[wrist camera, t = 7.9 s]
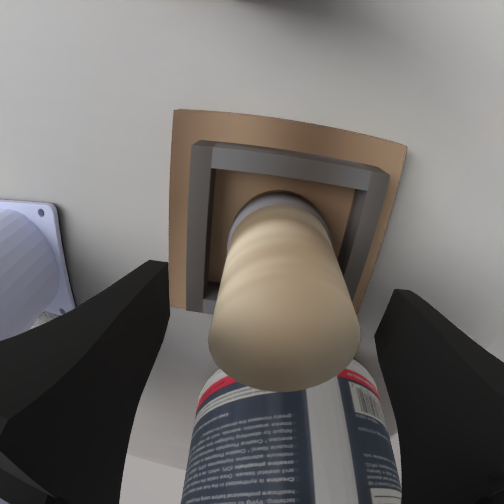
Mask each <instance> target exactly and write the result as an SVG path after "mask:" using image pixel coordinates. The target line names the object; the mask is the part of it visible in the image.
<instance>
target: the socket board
mask: <svg viewBox="0 0 504 504" xmlns="http://www.w3.org/2000/svg"><path fill="white" fill-rule="evenodd" d="M406 150H407V147H406V146H404V145H402V144H399V143H396V142H392V141H389V140H385V139H381V138H377V137H373V136H369V135H364V134H360V133H356V132H351V131H347V130H342V129H337V128H332V127H327V126H322V125H316V124H311V123H305V122H299V121H293V120H286V119H280V118H272V117H265V116H257V115H248V114H239V113H229V112H217V111H204V110H186V109H178V110H174V115H173V129H172V144H171V164H170V190H169V283H170V307H174V308H181V309H186V310H188V311H194V312H201V313H208V314H214V310H215V305H216V301H217V297H218V292H219V288H220V284H221V279H222V275H223V271H224V266H225V262H226V258H227V243H228V238H229V234H230V231H231V227H232V223H233V221H234V218H235V217H236V215H237V213H238V212H239V211H240V209H241V208H242V207H243V206H244V205H245V204H246V203H247V202H248V201H249V200H250V199H251V198H253V197H255V196H256V195H258V194H261V193H263V192H267V191H271V190H287V191H291V192H295V193H297V194H300V195H302V196H303V197H305V198H306V199H308V200H309V201H310V202H311V203H312V204H313V205H314V206H315V207H316V208H317V209H318V210H319V211H320V213H321V214H322V216H323V218H324V220H325V223H326V225H327V227H328V230H329V233H330V235H331V239H332V248H333V250H334V253H335V256H336V258H337V261H338V264H339V266H340V269H341V272H342V275H343V278H344V280H345V283H346V286H347V289H348V292H349V295H350V298H351V301H352V304H353V307H354V310H355V313H356V315H357V312H358V310H359V307H360V305H361V302H362V299H363V297H364V294H365V291H366V288H367V286H368V283H369V280H370V277H371V274H372V271H373V268H374V265H375V263H376V260H377V256H378V253H379V250H380V247H381V244H382V241H383V238H384V234H385V231H386V228H387V224H388V221H389V217H390V214H391V210H392V207H393V203H394V200H395V196H396V192H397V188H398V184H399V180H400V176H401V172H402V168H403V164H404V159H405V155H406Z"/></svg>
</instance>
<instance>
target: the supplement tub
mask: <svg viewBox="0 0 504 504" xmlns="http://www.w3.org/2000/svg"><path fill="white" fill-rule="evenodd" d="M401 496H402V490H401V486H400V481H399V476H398V472H397V468H396V463H395V459H394V455H393V450H392V446H391V442H390V438H389V434H388V430H387V426H386V422H385V418H384V414H383V410H382V406H381V402H380V399H379V395H378V390H377V386H376V383H375V381H374V379H373V378H372V376H371V375H370V374H369V372H368V371H367V370H366V369H365V368H364V367H363V366H362V365H361V364H360V363H358V362H357V361H355V360H354V359H353V360H352V361H351V362H350V364H349V365H348V366H347V367H346V368H345V369H344V370H343V371H342V372H341V373H339V374H338V375H337V376H335V377H334V378H332V379H330V380H328V381H327V382H324V383H322V384H320V385H317V386H315V387H312V388H308V389H304V390H299V391H291V392H271V391H264V390H259V389H255V388H251V387H249V386H246V385H243V384H241V383H239V382H237V381H235V380H234V379H232V378H231V377H229V376H228V375H227V374H225V373H224V372H223V371H222V370H221V369H218V370H217V371H216V372H215V373H214V374H213V375H212V376H211V377H210V378H209V379H208V381H207V382H206V383H205V385H204V387H203V389H202V390H201V392H200V394H199V397H198V407H197V411H196V418H195V422H194V428H193V434H192V440H191V446H190V451H189V457H188V463H187V469H186V475H185V482H184V488H183V494H182V500H181V504H401Z"/></svg>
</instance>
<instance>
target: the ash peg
mask: <svg viewBox="0 0 504 504" xmlns="http://www.w3.org/2000/svg"><path fill="white" fill-rule="evenodd" d="M360 340H361V330H360V325H359V322H358V319H357V316H356V313H355V310H354V307H353V304H352V301H351V298H350V295H349V292H348V289H347V286H346V283H345V280H344V278H343V275H342V272H341V269H340V266H339V264H338V261H337V258H336V256H335V253H334V250H333V248H332V239H331V235H330V233H329V230H328V227H327V225H326V223H325V220H324V218H323V216H322V214H321V213H320V211H319V210H318V209H317V208H316V207H315V206H314V205H313V204H312V203H311V202H310V201H309V200H308V199H306V198H305V197H303V196H302V195H300V194H297V193H295V192H291V191H287V190H271V191H267V192H263V193H261V194H258V195H256V196H255V197H253V198H251V199H250V200H249V201H248V202H247V203H246V204H245V205H244V206H243V207H242V208H241V209H240V211H239V212H238V213H237V215H236V217H235V218H234V221H233V223H232V227H231V231H230V234H229V238H228V243H227V258H226V262H225V266H224V271H223V275H222V279H221V284H220V288H219V292H218V297H217V301H216V305H215V310H214V314H213V319H212V323H211V328H210V332H209V349H210V352H211V355H212V357H213V359H214V361H215V363H216V364H217V365H218V367H219V368H220V369H221V370H222V371H223V372H224V373H225V374H227V375H228V376H229V377H231V378H232V379H234V380H235V381H237V382H239V383H241V384H243V385H246V386H249V387H251V388H255V389H259V390H264V391H271V392H291V391H299V390H304V389H308V388H312V387H315V386H317V385H320V384H322V383H324V382H327V381H328V380H330V379H332V378H334V377H335V376H337V375H338V374H339V373H341V372H342V371H343V370H344V369H345V368H346V367H347V366H348V365H349V364H350V362H351V361H352V360H353V358H354V357H355V355H356V353H357V351H358V348H359V345H360Z"/></svg>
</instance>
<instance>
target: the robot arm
mask: <svg viewBox="0 0 504 504" xmlns="http://www.w3.org/2000/svg"><path fill="white" fill-rule="evenodd" d="M42 210H43V211H44V214H43V212H42ZM44 311H45V312H49V313H52V314H56V315H60V316H59V317H57V318H55V319H53V320H51V321H49V322H47V323H45V324H43V325H40V326H38V327H35V328H33V329H31V330H30V328H31V327H32V326H33V324H34V323H35V322H36V321H37V319H38V318H39V317H40V315H41V314H42V313H43V312H44ZM169 317H170V302H169V270H168V262H161V261H154V260H149V261H147V262H145V263H144V264H142V265H141V266H139V267H138V268H136V269H135V270H133V271H132V272H130V273H129V274H127V275H126V276H124V277H123V278H122V279H120V280H119V281H117V282H116V283H114V284H113V285H111V286H110V287H108V288H107V289H105V290H104V291H102V292H100V293H99V294H97V295H96V296H94V297H92V298H91V299H89V300H88V301H86V302H84V303H83V304H81V305H80V306H78V307H76V308H75V304H74V300H73V296H72V292H71V287H70V283H69V278H68V274H67V269H66V264H65V259H64V253H63V248H62V242H61V235H60V229H59V222H58V214H57V209H56V207H55V206H54V205H53V204H51V203H43V202H30V201H15V200H0V504H119V499H120V490H121V483H122V476H123V470H124V464H125V458H126V453H127V448H128V443H129V439H130V434H131V430H132V426H133V422H134V418H135V414H136V410H137V406H138V403H139V400H140V397H141V395H142V392H143V390H144V387H145V385H146V382H147V380H148V377H149V375H150V372H151V370H152V367H153V365H154V362H155V360H156V357H157V355H158V352H159V350H160V348H161V345H162V343H163V339H164V336H165V332H166V329H167V325H168V321H169ZM374 337H375V343H376V350H377V355H378V360H379V364H380V368H381V371H382V374H383V378H384V381H385V384H386V387H387V391H388V394H389V397H390V401H391V404H392V408H393V411H394V415H395V419H396V424H397V429H398V436H399V444H400V454H401V468H402V469H401V470H402V496H401V504H504V362H502V361H500V360H499V359H498V358H496V357H495V356H493V355H492V354H490V353H489V352H488V351H486V350H485V349H483V348H482V347H481V346H479V345H478V344H477V343H476V342H474V341H473V340H472V339H471V338H469V337H468V336H467V335H466V334H464V333H463V332H462V331H461V330H460V329H458V328H457V327H456V326H455V325H454V324H452V323H451V322H450V321H449V320H448V319H446V318H445V317H444V316H443V315H442V314H440V313H439V312H438V311H437V310H436V309H434V308H433V307H432V306H431V305H430V304H428V303H427V302H426V301H425V300H423V299H422V298H421V297H419V296H418V295H416V294H415V293H413V292H412V291H410V290H401V289H394V292H393V294H392V297H391V299H390V301H389V304H388V306H387V308H386V311H385V313H384V315H383V318H382V320H381V322H380V324H379V327H378V329H377V331H376V333H375V335H374Z"/></svg>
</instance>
